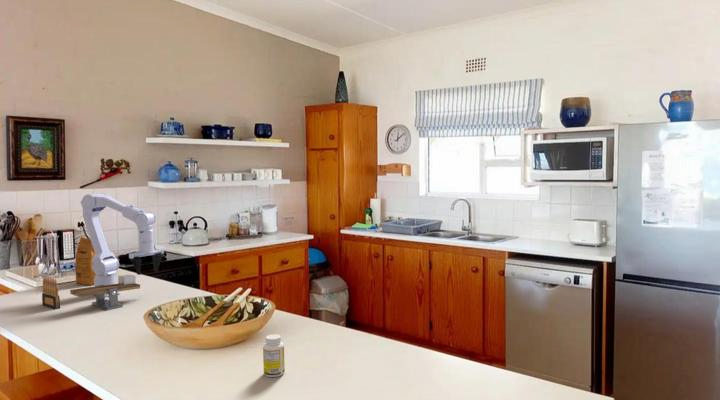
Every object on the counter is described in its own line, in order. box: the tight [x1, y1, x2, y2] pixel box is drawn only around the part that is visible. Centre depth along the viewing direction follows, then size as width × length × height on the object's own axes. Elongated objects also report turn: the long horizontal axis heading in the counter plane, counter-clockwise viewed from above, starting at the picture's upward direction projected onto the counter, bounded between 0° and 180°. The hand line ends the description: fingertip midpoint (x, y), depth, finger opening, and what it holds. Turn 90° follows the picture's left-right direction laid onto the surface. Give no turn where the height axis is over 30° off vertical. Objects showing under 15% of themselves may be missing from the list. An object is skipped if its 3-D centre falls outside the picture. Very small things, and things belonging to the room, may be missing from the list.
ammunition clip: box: [41, 276, 61, 310], centre depth 208 cm, size 11×2×12 cm, turn 56°
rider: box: [117, 274, 137, 286], centre depth 215 cm, size 4×5×4 cm
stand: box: [91, 285, 124, 311], centre depth 208 cm, size 13×6×8 cm, turn 52°
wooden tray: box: [69, 283, 141, 298], centre depth 208 cm, size 9×24×2 cm, turn 142°
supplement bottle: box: [262, 333, 286, 378], centre depth 140 cm, size 6×6×10 cm
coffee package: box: [74, 236, 104, 286], centre depth 248 cm, size 10×12×22 cm
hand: (147, 272), depth 221 cm, fingers open, 7 cm apart
